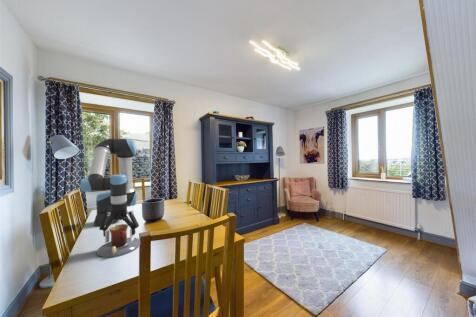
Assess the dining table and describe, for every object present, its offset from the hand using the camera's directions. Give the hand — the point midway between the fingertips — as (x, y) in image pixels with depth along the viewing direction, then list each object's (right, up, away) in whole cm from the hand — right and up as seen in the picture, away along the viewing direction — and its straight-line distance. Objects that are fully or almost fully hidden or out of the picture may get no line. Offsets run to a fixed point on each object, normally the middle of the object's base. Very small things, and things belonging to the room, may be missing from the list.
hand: (119, 241), depth 102 cm
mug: (+1, -3, -1) cm, 3 cm away
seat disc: (0, -4, 0) cm, 4 cm away
